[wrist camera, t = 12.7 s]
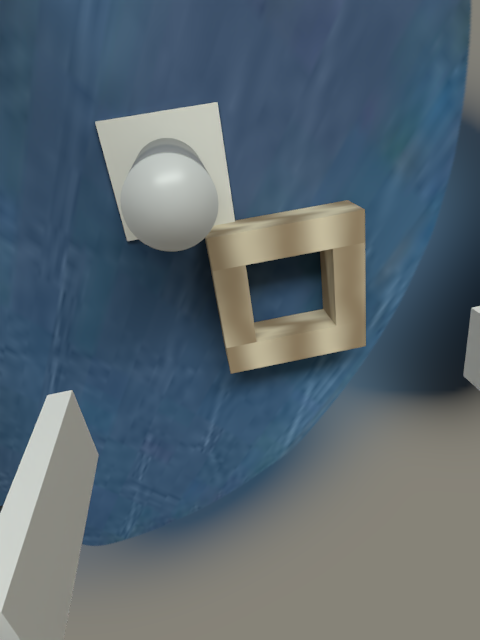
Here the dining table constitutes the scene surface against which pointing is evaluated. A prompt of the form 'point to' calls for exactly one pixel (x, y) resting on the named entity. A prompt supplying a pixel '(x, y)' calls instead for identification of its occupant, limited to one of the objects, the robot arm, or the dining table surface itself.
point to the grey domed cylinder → (169, 196)
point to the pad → (182, 124)
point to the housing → (280, 242)
